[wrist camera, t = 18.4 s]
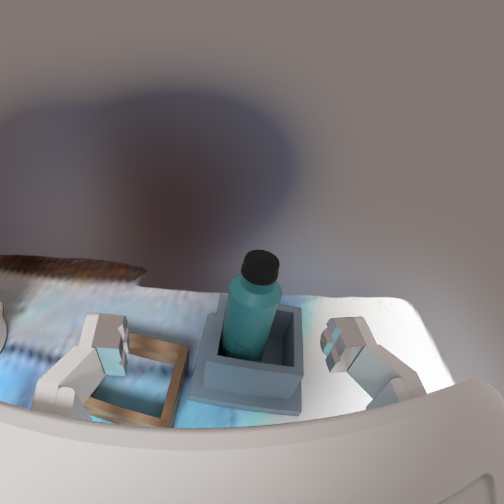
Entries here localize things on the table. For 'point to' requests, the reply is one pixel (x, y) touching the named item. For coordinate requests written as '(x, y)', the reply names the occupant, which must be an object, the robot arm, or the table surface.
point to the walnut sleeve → (180, 359)
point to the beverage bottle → (251, 307)
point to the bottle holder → (252, 367)
